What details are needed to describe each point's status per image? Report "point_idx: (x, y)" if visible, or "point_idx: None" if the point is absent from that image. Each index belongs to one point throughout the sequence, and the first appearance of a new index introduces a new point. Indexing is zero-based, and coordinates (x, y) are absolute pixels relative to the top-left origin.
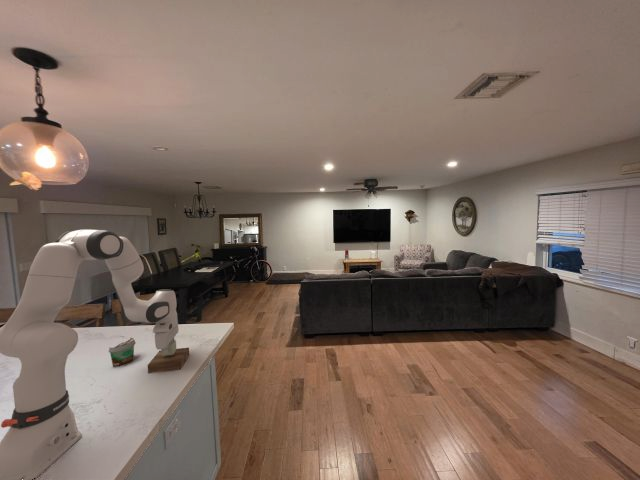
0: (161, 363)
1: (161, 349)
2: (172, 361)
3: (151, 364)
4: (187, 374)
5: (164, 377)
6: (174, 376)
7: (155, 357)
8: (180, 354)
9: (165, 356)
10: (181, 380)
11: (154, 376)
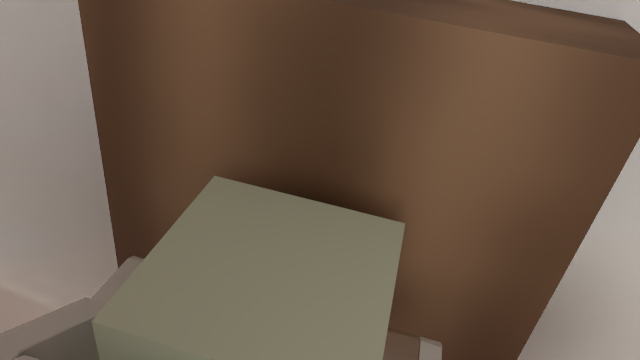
0: (101, 155)
1: (146, 258)
2: None
3: (84, 19)
4: (88, 293)
5: (57, 139)
6: (68, 214)
7: (334, 38)
8: None
9: (306, 192)
10: (12, 255)
11: (81, 38)
